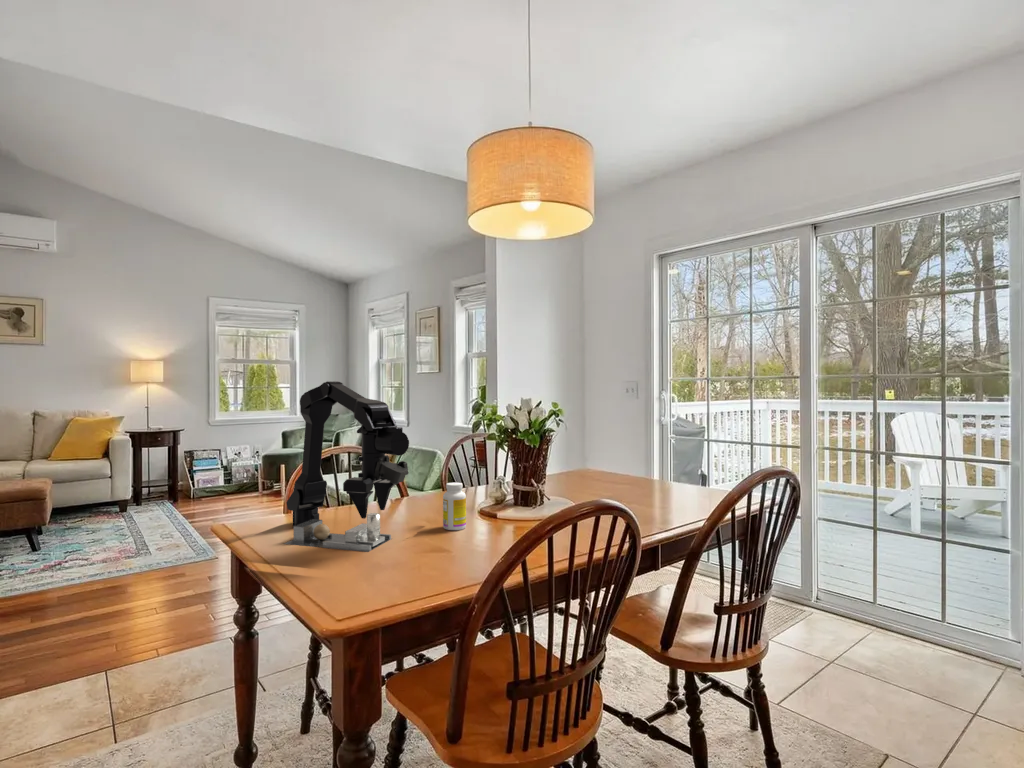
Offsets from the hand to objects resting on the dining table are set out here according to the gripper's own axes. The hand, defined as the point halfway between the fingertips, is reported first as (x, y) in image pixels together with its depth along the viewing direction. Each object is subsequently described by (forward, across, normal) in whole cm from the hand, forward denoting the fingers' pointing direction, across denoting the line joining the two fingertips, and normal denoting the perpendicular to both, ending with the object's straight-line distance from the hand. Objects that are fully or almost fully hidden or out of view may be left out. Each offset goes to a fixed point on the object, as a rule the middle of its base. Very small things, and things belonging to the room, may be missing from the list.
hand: (373, 514), depth 145 cm
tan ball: (+8, 0, +15) cm, 17 cm away
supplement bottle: (+9, +26, -12) cm, 30 cm away
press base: (+9, 0, +10) cm, 13 cm away
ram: (+7, 0, +2) cm, 8 cm away
